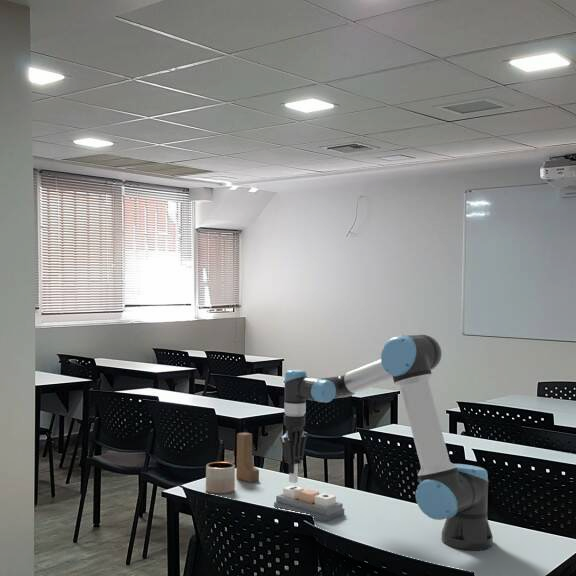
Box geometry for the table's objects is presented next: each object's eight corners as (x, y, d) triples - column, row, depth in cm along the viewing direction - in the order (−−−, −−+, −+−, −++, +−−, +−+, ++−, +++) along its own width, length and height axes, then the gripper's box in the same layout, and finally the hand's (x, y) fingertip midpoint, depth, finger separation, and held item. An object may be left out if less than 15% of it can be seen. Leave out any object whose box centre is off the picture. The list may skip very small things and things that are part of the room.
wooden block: (259, 481, 284) (260, 435, 284) (250, 483, 281) (251, 436, 281) (244, 476, 291) (245, 432, 291) (235, 478, 288) (236, 433, 288)
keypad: (344, 514, 244) (344, 502, 244) (324, 522, 235) (324, 510, 235) (294, 501, 258) (294, 490, 258) (273, 508, 249) (274, 496, 249)
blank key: (319, 500, 247) (319, 492, 247) (310, 503, 243) (310, 495, 243) (307, 497, 250) (307, 489, 250) (298, 500, 246) (298, 492, 246)
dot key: (335, 505, 242) (335, 495, 242) (326, 508, 238) (326, 498, 238) (323, 502, 245) (323, 492, 245) (314, 505, 242) (314, 495, 242)
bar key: (303, 496, 251) (303, 487, 251) (294, 499, 247) (294, 490, 247) (292, 493, 254) (292, 484, 254) (283, 496, 251) (283, 487, 251)
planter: (220, 496, 263) (221, 470, 263) (199, 490, 269) (199, 465, 269) (240, 490, 271) (241, 464, 271) (219, 485, 278) (219, 460, 278)
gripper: (298, 410, 259) (296, 476, 258) (274, 415, 249) (272, 483, 248) (314, 413, 254) (313, 480, 254) (291, 418, 244) (289, 487, 244)
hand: (293, 482), depth 251 cm, fingers closed
